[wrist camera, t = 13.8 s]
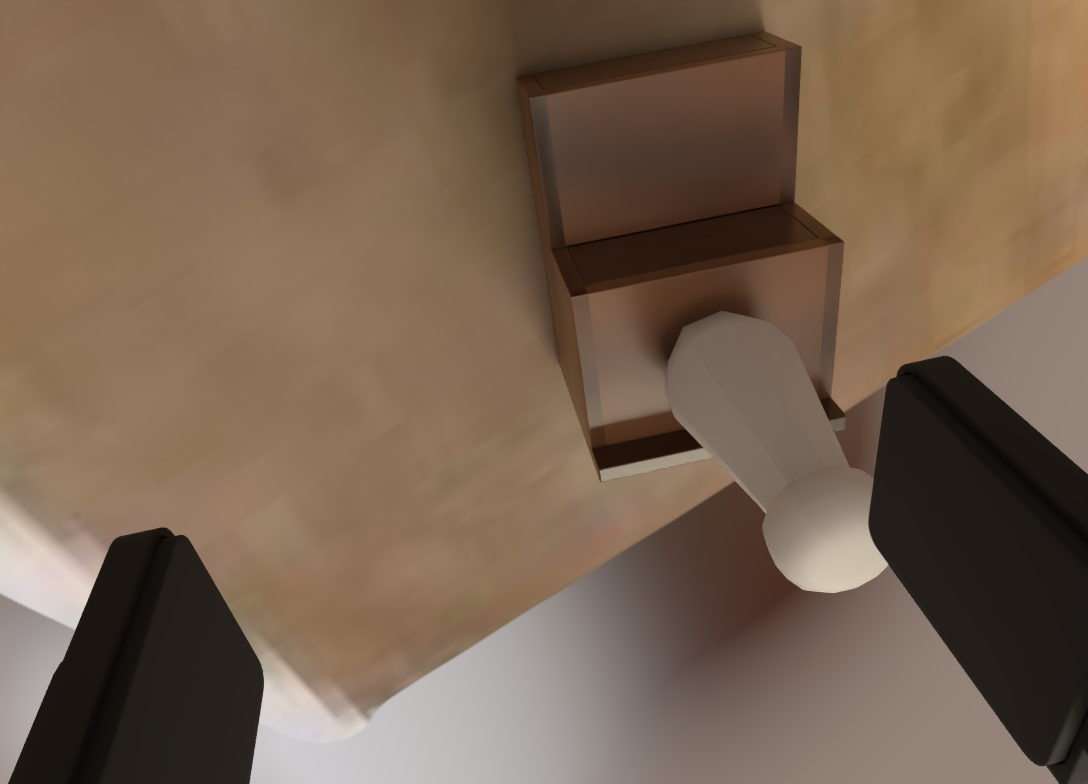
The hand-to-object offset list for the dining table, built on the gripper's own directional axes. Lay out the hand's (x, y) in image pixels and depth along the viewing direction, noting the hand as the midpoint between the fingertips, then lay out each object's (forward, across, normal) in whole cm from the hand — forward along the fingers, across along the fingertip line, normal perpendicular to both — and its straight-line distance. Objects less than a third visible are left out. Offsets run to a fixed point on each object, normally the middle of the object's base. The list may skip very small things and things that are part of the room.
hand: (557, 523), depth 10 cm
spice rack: (+30, -9, +9) cm, 33 cm away
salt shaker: (+21, -9, +12) cm, 26 cm away
